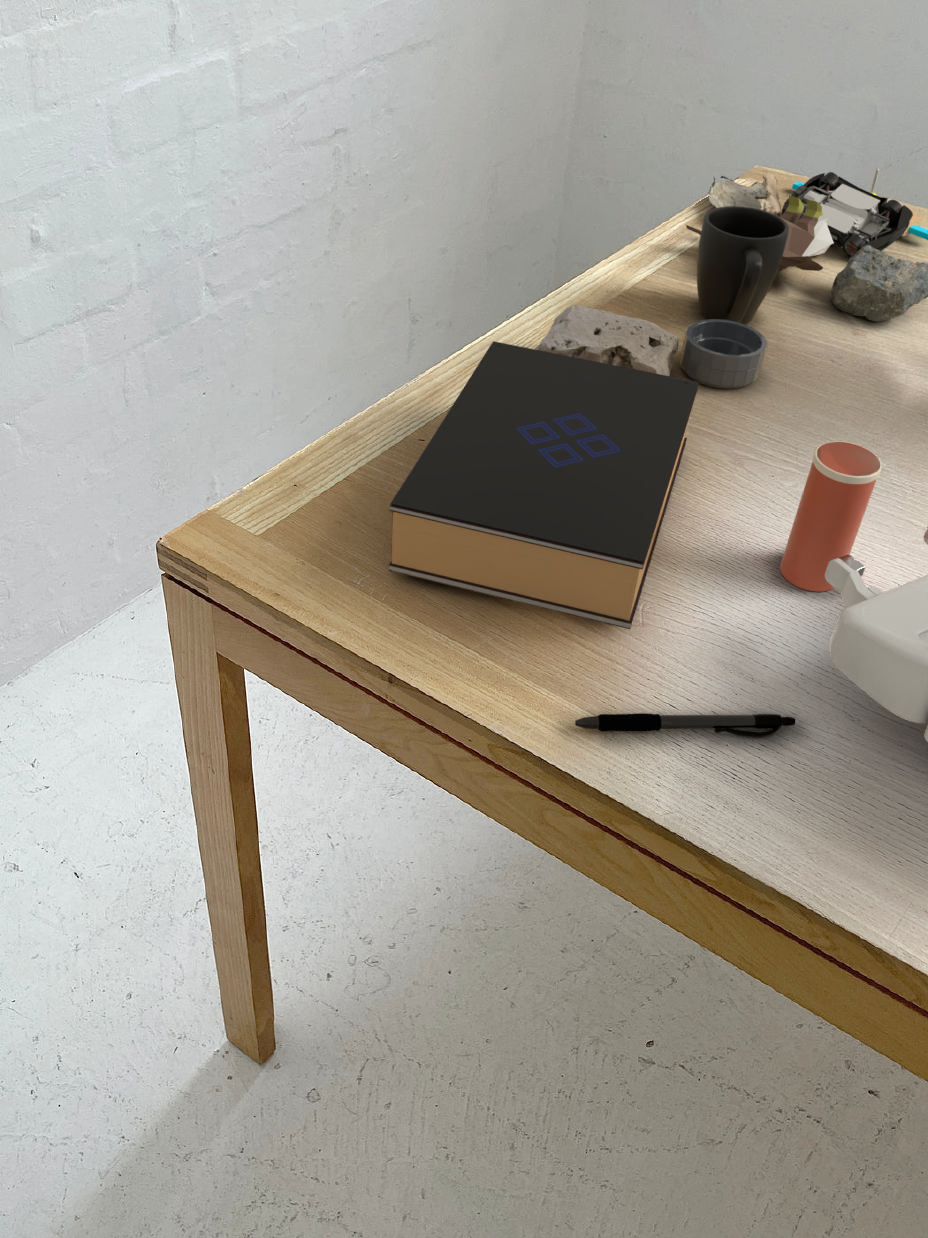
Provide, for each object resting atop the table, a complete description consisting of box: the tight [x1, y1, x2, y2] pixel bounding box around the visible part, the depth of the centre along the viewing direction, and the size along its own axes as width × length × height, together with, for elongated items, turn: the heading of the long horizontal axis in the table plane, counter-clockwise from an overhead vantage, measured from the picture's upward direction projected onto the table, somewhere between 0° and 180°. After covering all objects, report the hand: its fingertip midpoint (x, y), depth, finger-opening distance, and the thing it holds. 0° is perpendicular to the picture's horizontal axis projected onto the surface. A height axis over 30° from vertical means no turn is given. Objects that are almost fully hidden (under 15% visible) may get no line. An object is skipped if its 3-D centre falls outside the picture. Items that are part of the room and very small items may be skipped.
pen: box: [574, 712, 797, 739], centre depth 70 cm, size 14×2×1 cm, turn 94°
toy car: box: [781, 171, 914, 258], centre depth 131 cm, size 7×15×4 cm, turn 37°
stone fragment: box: [695, 170, 782, 240], centre depth 135 cm, size 19×8×5 cm
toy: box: [685, 195, 834, 272], centre depth 122 cm, size 16×16×7 cm
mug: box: [696, 206, 789, 325], centre depth 111 cm, size 8×12×10 cm
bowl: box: [679, 319, 768, 390], centre depth 105 cm, size 7×7×4 cm
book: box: [388, 341, 700, 630], centre depth 85 cm, size 17×25×7 cm
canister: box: [779, 440, 883, 593], centre depth 80 cm, size 4×4×10 cm
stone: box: [534, 304, 680, 376], centre depth 103 cm, size 13×6×10 cm
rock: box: [830, 245, 928, 323], centre depth 118 cm, size 12×10×5 cm
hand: (884, 545), depth 77 cm, fingers open, 8 cm apart
